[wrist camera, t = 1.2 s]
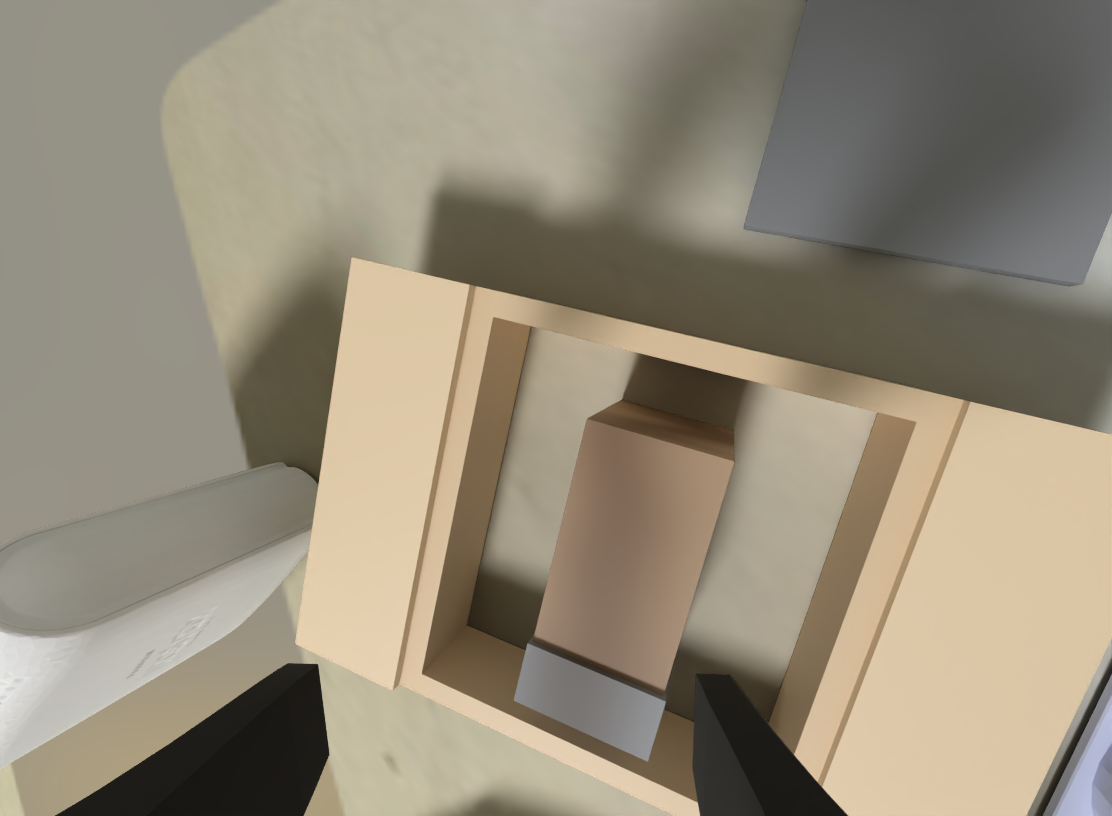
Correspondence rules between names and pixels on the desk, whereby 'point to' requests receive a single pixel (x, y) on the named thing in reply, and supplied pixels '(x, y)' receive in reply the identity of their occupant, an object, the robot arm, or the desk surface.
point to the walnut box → (625, 572)
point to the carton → (838, 602)
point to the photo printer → (137, 593)
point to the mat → (946, 134)
